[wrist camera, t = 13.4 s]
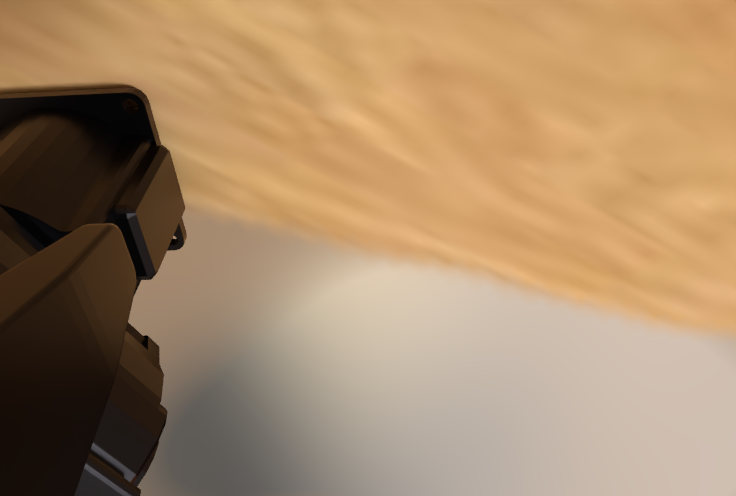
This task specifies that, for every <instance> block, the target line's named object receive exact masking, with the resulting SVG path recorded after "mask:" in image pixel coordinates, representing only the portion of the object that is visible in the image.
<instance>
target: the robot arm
mask: <svg viewBox="0 0 736 496" xmlns="http://www.w3.org/2000/svg"><path fill="white" fill-rule="evenodd" d="M127 99H130V100H133V101H134V102H136V103H137V105H138V108H137V109H135V108H132V107H130V106H129V105H128V104H127V101H126V100H127ZM184 210H185V205H184V201H183V198H182V194H181V190H180V187H179V183H178V180H177V176H176V172H175V169H174V165H173V162H172V158H171V154H170V151H169V150H168V149H167V148H165V147H164V146H163V145H161V142H160V139H159V135H158V132H157V128H156V125H155V121H154V118H153V114H152V111H151V107H150V104H149V100H148V98H147V96H146V95H145V94H144V93H143V92H142V91H140V90H138V89H136V88H131V87H128V88H108V89H88V90H68V91H48V92H28V93H8V94H0V496H140V493H141V490H140V489H139V488H138V487H137V486H138V484H139V483H140V481H141V480H142V478H143V477H144V475H145V474H146V472H147V470H148V468H149V466H150V464H151V462H152V460H153V458H154V456H155V452H156V450H157V447H158V443H159V439H160V437H161V434H162V432H163V429H164V427H165V424H166V419H167V410H166V409H165V408H164V407H163V406H162V405H161V404H160V402H161V397H162V387H163V377H164V374H163V372H162V369H161V366H160V364H159V346H158V345H157V344H156V343H155V342H154V341H153V340H152V339H151V338H149V337H148V336H142V335H141V334H140V333H139V332H138V331H137V330H136V329H135V328H134V327H132V326H131V325H130V324H129V323H128V319H129V314H130V310H131V306H132V301H133V297H134V295H135V293H136V290H137V288H138V286H139V284H140V282H141V280H150V279H152V278H153V277H154V276H155V275H156V273H157V272H158V269H159V267H160V265H161V263H162V261H163V258H164V256H165V254H166V251H167V250H177V249H180V248H181V247H182V246H183V245H184V242H185V240H186V237H187V236H186V230H185V227H184V223H183V220H182V215H183V212H184ZM173 235H174V236H175V237H176V238H177V239H172V238H173Z"/></svg>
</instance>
